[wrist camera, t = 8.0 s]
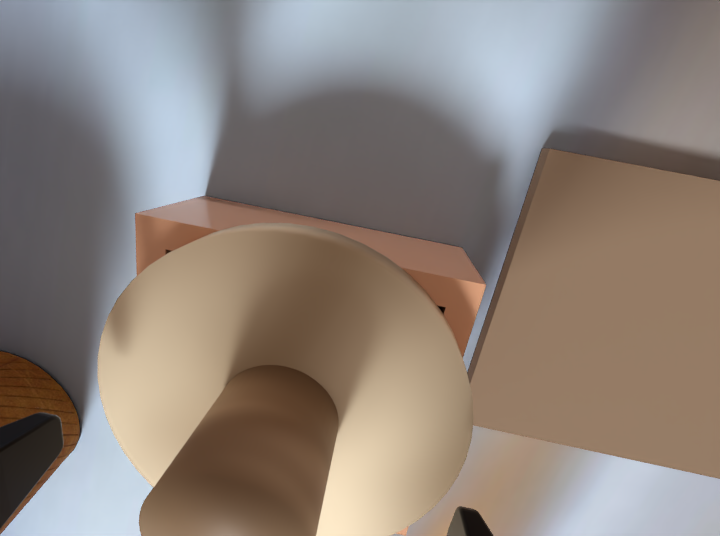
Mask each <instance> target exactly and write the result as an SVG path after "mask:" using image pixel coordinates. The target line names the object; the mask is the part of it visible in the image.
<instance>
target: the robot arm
mask: <svg viewBox="0 0 720 536" xmlns="http://www.w3.org/2000/svg"><path fill="white" fill-rule="evenodd" d="M63 444H64V440H63V432H62V423H61V419H60V417H59V416H57V415H53V414H49V413H44V412H39V413H35V414H33V415H30V416H27V417H25V418H22V419H20V420H17V421H15V422H12V423H9V424H7V425H4V426H2V427H0V529H1V528H2V526H3V525H4V524H5V523H6V522H7V520H8V519H9V518H10V517H11V516H12V514H13V513H14V512H15V511H16V509H17V508H18V507H19V505H20V504H21V503H22V502H23V500H24V499H25V498H26V497H27V495H28V494H29V493H30V491H31V490H32V489H33V488H34V486H35V485H36V484H37V483H38V481H39V480H40V479H41V477H42V476H43V475H44V474H45V472H46V471H47V470H48V469H49V467H50V466H51V465H52V463H53V462H54V461H55V460H56V458H57V457H58V456H59V454H60V452H61V451H62V448H63ZM447 536H493V534H492V533H491V531H490V529H489V528H488V526H487V525H486V523H485V521H484V520H483V518H482V517H481V515H480V514H479V512H478V511H476V510H474V509H471V508H466V507H462V506H459V507H458V508H457V509H456V511H455V513H454V516H453V519H452V521H451V524H450V527H449V529H448V533H447Z"/></svg>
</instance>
